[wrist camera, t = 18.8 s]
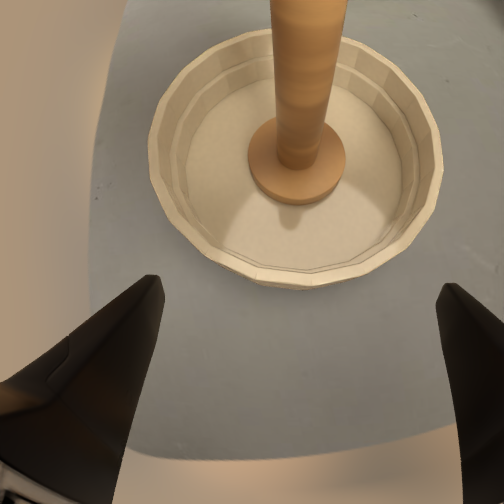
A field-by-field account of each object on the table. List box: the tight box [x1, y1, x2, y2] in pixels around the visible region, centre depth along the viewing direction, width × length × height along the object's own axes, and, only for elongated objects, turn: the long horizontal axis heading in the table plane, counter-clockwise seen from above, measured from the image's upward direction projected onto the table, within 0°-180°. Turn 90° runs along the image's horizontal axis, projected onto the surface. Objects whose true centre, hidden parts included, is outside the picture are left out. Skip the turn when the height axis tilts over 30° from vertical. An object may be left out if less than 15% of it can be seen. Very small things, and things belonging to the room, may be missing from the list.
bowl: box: [148, 28, 444, 291], centre depth 18 cm, size 16×16×5 cm
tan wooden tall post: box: [248, 0, 348, 205], centre depth 13 cm, size 6×6×15 cm
